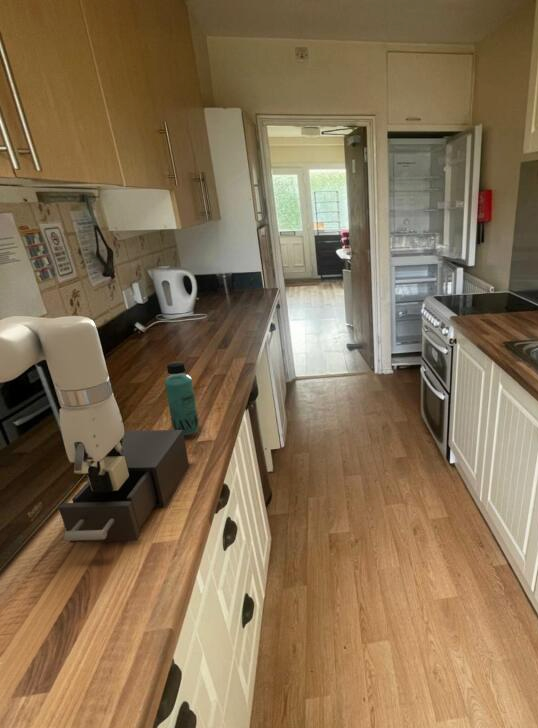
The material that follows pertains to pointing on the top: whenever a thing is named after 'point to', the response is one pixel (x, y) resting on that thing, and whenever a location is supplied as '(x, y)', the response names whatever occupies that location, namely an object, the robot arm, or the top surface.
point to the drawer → (110, 511)
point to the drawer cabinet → (157, 458)
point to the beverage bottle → (181, 399)
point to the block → (115, 470)
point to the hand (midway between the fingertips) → (110, 481)
